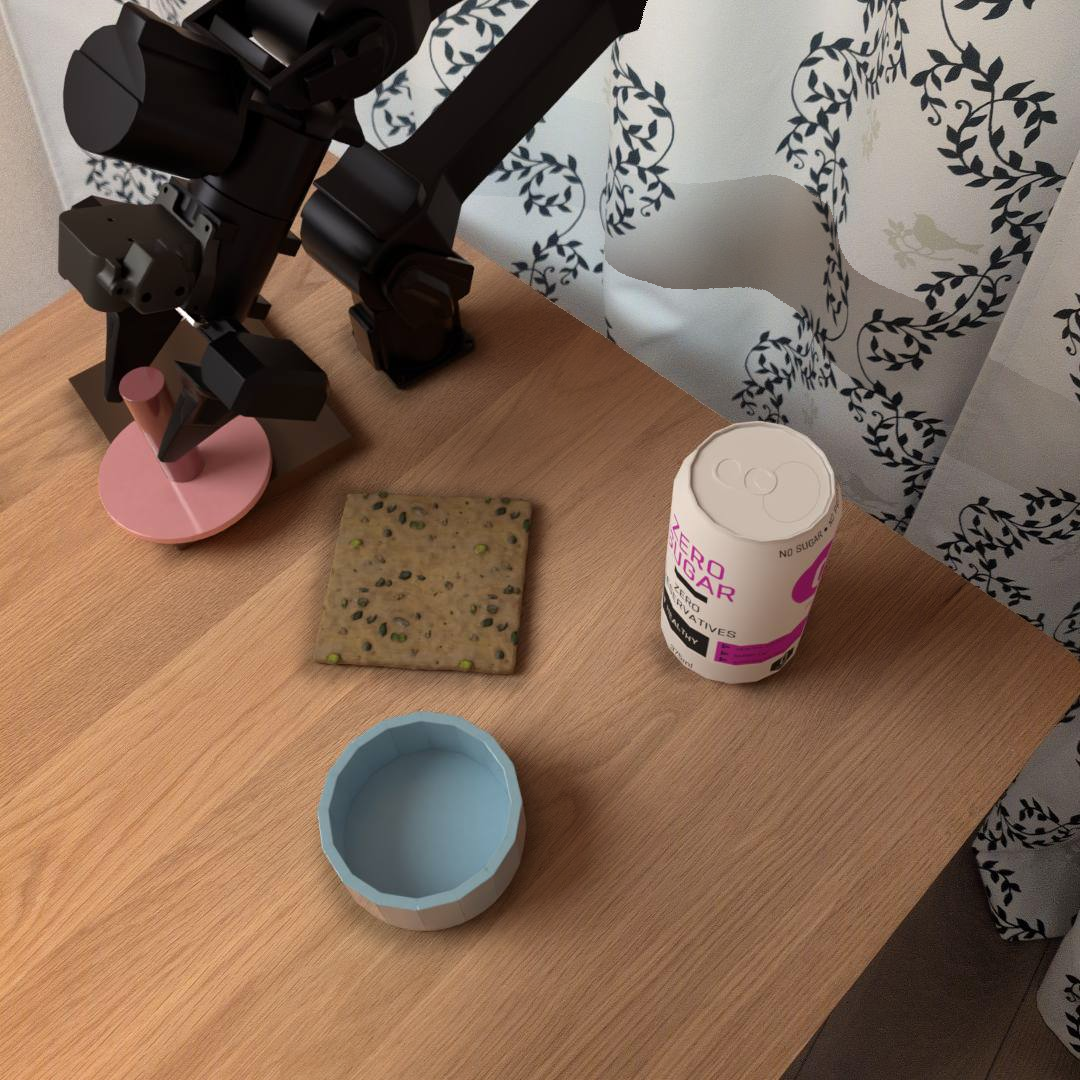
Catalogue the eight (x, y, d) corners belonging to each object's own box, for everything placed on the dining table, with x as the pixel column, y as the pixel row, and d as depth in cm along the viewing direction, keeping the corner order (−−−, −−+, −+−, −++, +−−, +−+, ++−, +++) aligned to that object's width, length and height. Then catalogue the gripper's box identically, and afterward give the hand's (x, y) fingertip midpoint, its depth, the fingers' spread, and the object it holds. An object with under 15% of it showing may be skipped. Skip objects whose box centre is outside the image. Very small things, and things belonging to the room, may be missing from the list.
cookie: (345, 494, 73) (342, 486, 73) (534, 503, 73) (533, 495, 72) (310, 664, 67) (306, 657, 66) (516, 676, 66) (515, 669, 65)
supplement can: (818, 593, 69) (869, 442, 56) (773, 710, 65) (816, 577, 52) (690, 546, 71) (710, 391, 58) (638, 658, 67) (649, 517, 54)
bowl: (457, 710, 65) (448, 676, 62) (563, 853, 61) (561, 826, 57) (301, 814, 63) (282, 785, 59) (400, 972, 58) (386, 952, 54)
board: (242, 306, 83) (237, 291, 81) (356, 449, 76) (352, 435, 74) (75, 392, 79) (67, 378, 78) (178, 551, 72) (171, 538, 71)
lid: (301, 429, 75) (267, 333, 67) (230, 567, 69) (184, 480, 62) (153, 395, 77) (103, 297, 69) (73, 526, 71) (9, 436, 64)
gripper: (23, 68, 59) (-70, 328, 65) (223, 257, 51) (98, 533, 57) (198, 125, 68) (103, 348, 74) (390, 292, 60) (267, 527, 66)
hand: (138, 430), depth 67 cm, fingers open, 6 cm apart
